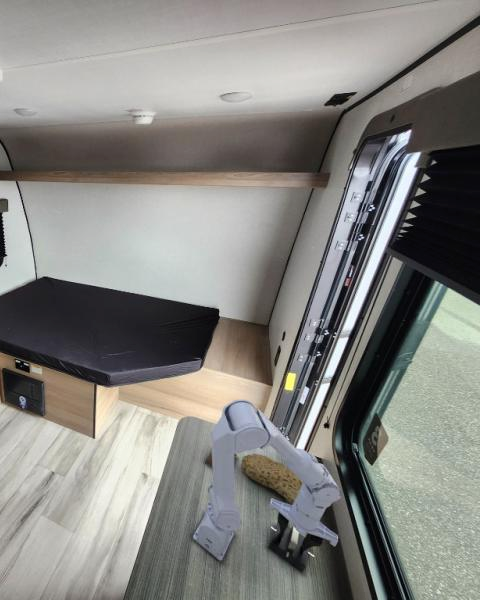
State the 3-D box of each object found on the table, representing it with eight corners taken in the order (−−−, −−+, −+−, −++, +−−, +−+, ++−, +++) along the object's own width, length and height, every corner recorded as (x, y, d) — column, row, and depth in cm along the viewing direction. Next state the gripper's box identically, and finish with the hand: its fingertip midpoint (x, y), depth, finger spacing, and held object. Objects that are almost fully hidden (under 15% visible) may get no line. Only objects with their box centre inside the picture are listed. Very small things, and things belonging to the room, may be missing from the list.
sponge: (313, 500, 99) (257, 447, 112) (325, 490, 94) (265, 436, 107) (288, 525, 94) (233, 466, 107) (299, 516, 89) (240, 456, 102)
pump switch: (225, 476, 104) (228, 468, 103) (205, 463, 109) (207, 455, 107) (236, 458, 111) (238, 451, 110) (216, 446, 115) (218, 439, 114)
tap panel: (306, 580, 78) (310, 573, 77) (262, 548, 84) (265, 541, 83) (313, 548, 85) (317, 541, 84) (272, 520, 91) (275, 513, 90)
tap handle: (293, 552, 81) (297, 544, 79) (286, 549, 82) (291, 540, 80) (296, 534, 85) (300, 525, 84) (290, 530, 86) (294, 521, 85)
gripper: (272, 500, 79) (259, 533, 85) (344, 541, 71) (324, 575, 76) (277, 481, 84) (264, 513, 90) (344, 517, 76) (325, 550, 81)
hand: (292, 540), depth 83 cm, fingers open, 4 cm apart
